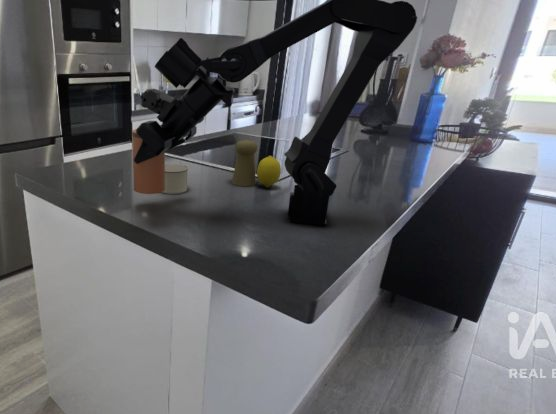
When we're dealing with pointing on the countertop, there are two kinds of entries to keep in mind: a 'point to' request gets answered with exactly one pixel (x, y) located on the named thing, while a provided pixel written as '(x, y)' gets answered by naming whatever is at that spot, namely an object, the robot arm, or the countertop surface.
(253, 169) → the cork
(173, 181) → the short cream cylinder
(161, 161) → the terracotta tall cylinder
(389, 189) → the countertop surface
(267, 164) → the lemon
